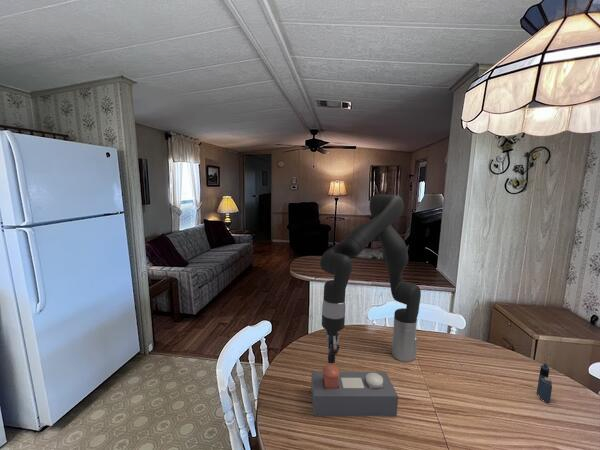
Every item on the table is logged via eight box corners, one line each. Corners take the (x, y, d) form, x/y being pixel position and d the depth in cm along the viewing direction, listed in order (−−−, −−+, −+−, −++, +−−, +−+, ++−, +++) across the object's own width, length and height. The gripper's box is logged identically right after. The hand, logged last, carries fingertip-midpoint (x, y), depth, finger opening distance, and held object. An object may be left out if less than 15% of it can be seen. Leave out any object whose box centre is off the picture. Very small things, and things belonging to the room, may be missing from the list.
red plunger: (337, 384, 98) (337, 364, 97) (339, 396, 92) (340, 375, 91) (321, 384, 98) (321, 364, 97) (322, 396, 92) (323, 375, 91)
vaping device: (543, 393, 102) (548, 363, 100) (551, 404, 97) (556, 372, 95) (535, 392, 103) (539, 361, 101) (542, 402, 98) (546, 370, 96)
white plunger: (378, 392, 99) (380, 372, 98) (383, 404, 93) (385, 383, 92) (363, 392, 98) (364, 372, 97) (367, 404, 93) (368, 383, 92)
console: (384, 389, 102) (385, 371, 101) (396, 416, 90) (398, 395, 89) (311, 389, 101) (311, 371, 100) (313, 416, 89) (314, 395, 88)
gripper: (349, 322, 85) (346, 375, 87) (341, 304, 98) (339, 350, 100) (324, 322, 85) (322, 374, 87) (320, 304, 98) (318, 350, 100)
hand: (331, 361), depth 93 cm, fingers closed
